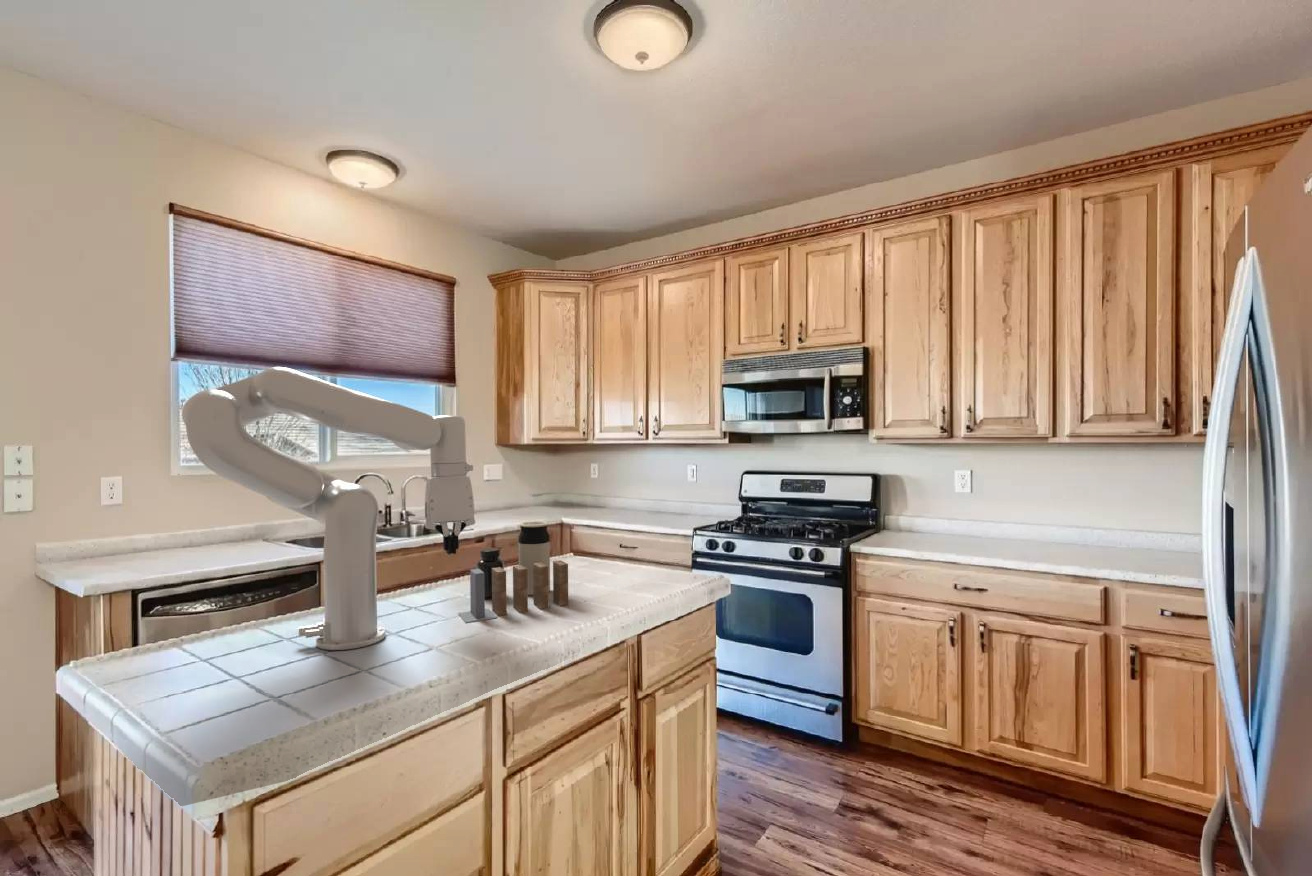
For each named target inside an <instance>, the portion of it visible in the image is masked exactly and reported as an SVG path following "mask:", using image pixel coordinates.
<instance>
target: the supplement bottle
mask: <svg viewBox="0 0 1312 876" xmlns="http://www.w3.org/2000/svg"><path fill="white" fill-rule="evenodd" d="M479 557H480V559H479V560H478V561H477V563H476V567H475V569H480V570H481V571H483V572H484V588H485V600H492V568H497V567H501V568H502V569H504V570H505V562H504V560H503V559H502V558H500V557H501V549H500V548H498V547H484V548H481V549H480V555H479Z"/></svg>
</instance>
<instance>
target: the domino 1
mask: <svg viewBox="0 0 1312 876" xmlns="http://www.w3.org/2000/svg"><path fill="white" fill-rule="evenodd" d="M469 574H470V575H469V582H470V583H469V585H470V587H469V588H470V593H469V595H470V611H471V614H472V615H473V616H474V617H475V618H483V617H485V609H486V606H485V605H486V603H485V602H486V601H485V600H486V599H485V588H484V572H483V571H481V570H480V569H476V568H474V569H469Z"/></svg>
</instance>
